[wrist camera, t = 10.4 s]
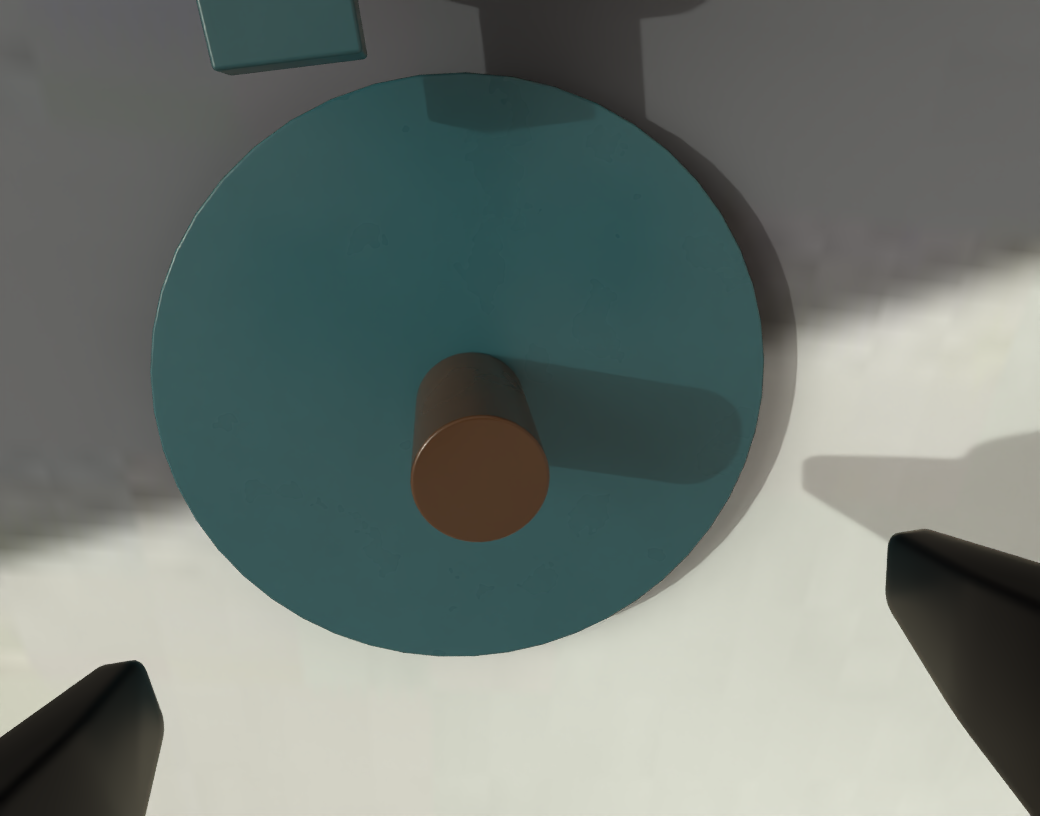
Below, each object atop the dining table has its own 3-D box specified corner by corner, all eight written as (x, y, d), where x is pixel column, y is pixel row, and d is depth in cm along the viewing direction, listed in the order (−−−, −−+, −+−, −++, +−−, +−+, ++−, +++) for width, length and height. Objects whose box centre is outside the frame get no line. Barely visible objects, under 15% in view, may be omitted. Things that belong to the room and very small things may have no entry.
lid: (742, 38, 17) (875, -7, 12) (751, 586, 22) (848, 723, 17) (82, 121, 16) (-82, 111, 11) (249, 671, 21) (189, 842, 16)
